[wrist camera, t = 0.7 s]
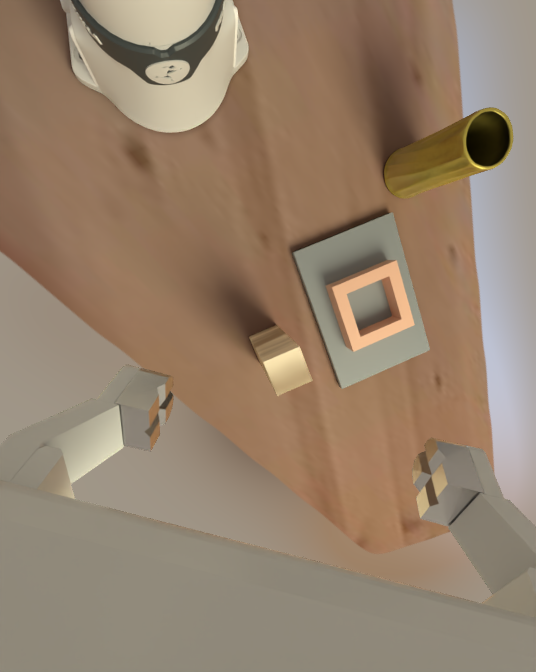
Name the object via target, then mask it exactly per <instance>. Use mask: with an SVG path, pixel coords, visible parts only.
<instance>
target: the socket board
mask: <svg viewBox="0 0 536 672" xmlns="http://www.w3.org/2000/svg"><path fill="white" fill-rule="evenodd" d="M292 255H293V258H294V261H295V263H296V266H297V269H298V272H299V275H300V277H301V280H302V283H303V286H304V289H305V291H306V294H307V297H308V300H309V303H310V305H311V308H312V311H313V314H314V317H315V319H316V322H317V325H318V328H319V331H320V333H321V336H322V339H323V342H324V345H325V347H326V350H327V353H328V356H329V359H330V361H331V364H332V367H333V370H334V373H335V375H336V378H337V381H338V384H339V387H341V388H342V389H343V388H345V387H348V386H350V385H352V384H354V383H357V382H359V381H361V380H363V379H366V378H368V377H370V376H372V375H375V374H377V373H379V372H381V371H384V370H386V369H388V368H390V367H393V366H395V365H397V364H399V363H402V362H404V361H406V360H408V359H411V358H413V357H415V356H417V355H419V354H422V353H424V352H426V351H428V350H430V348H429V344H428V340H427V337H426V333H425V329H424V326H423V322H422V318H421V315H420V311H419V307H418V304H417V300H416V296H415V293H414V289H413V285H412V282H411V278H410V274H409V270H408V267H407V263H406V259H405V256H404V252H403V248H402V245H401V241H400V237H399V234H398V230H397V226H396V223H395V219H394V215H393V212H392V213H388V214H386V215H383V216H381V217H378V218H376V219H373V220H371V221H368V222H366V223H364V224H361V225H359V226H356V227H354V228H351V229H349V230H346V231H344V232H341V233H339V234H337V235H334V236H332V237H329V238H327V239H324V240H322V241H319V242H317V243H314V244H312V245H310V246H307V247H305V248H302V249H300V250H297V251H295V252H292Z"/></svg>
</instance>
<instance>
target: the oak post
mask: <svg viewBox="0 0 536 672" xmlns="http://www.w3.org/2000/svg"><path fill="white" fill-rule="evenodd" d="M249 338H250V341H251V343H252V345H253V348H254V350H255V353H256V355H257V357H258V360H259V362H260V364H261V366H262V368H263V370H264V372H265V374H266V376H267V378H268V379H269V381H270V383H271V385H272V387H273V389H274V391H275V393H276V395H277V396H279V395H281V394H283V393H285V392H288V391H290V390H292V389H295V388H297V387H299V386H301V385H304V384H306V383H308V382H310V381H312V378H311V376H310V373H309V370H308V368H307V365H306V362H305V360H304V357H303V354H302V352H301V349H300V346H298V345H297V344H296V343H295V342H294V341H293V340H292V339H291V338H290V337H289V336H288V335H287V334H286V333H285V332H284V331H282V330H281V329H280V328H279V327H278V326H277V325H275V326H273V327H271V328H268V329H266V330H263V331H261V332H259V333H256V334H254V335H252V336H249Z"/></svg>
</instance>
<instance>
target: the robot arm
mask: <svg viewBox="0 0 536 672" xmlns="http://www.w3.org/2000/svg"><path fill="white" fill-rule="evenodd" d="M60 2H61V5H62V8H63V10H64V12H66V16H67V26H68V35H69V45H70V54H71V64H72V69H73V72H74V74H75V76H76V78H77V79H78V80H79V81H80V82H81V83H83V84H84V85H86V86H87V87H89V88H91V89H93V90H95V91H98V92H100V93H102V94H104V95H105V96H106V97H107V98H108V99H109V100H110V101H111V102H112V103H113V104H114V105H115V106H116V107H117V108H118V109H119V110H120V111H121V112H122V113H123V114H125V115H126V116H127V117H128V118H130V119H131V120H133V121H134V122H136V123H138V124H140V125H141V126H144V127H146V128H149V129H152V130H155V131H160V132H182V131H186V130H189V129H192V128H195V127H197V126H199V125H200V124H202V123H203V122H205V121H206V120H207V119H209V118H210V117H211V116H212V115H213V114H214V112H215V111H216V110H217V109H218V107H219V106H220V104H221V102H222V100H223V98H224V96H225V94H226V91H227V88H228V85H229V82H230V80H231V78H232V76H233V75H234V74H235V73H236V72H237V71H238V70H239V68H240V67H241V66H242V65H243V64H244V63H245V61H246V59H247V57H248V42H247V40H246V37H245V34H244V31H243V28H242V25H241V23H240V20H239V17H238V11H237V8H236V7H235V6H234V3H233V0H60ZM81 57H82V59H83V60H81ZM173 385H174V384H173V377H172V376H170V375H166V374H163V373H159V372H155V371H151V370H147V369H144V368H139V367H135V366H131V365H125V366H123V367H122V368H121V369H120V371H119V372H118V373H117V374H116V376H115V377H114V378H113V379H112V381H111V382H110V383H109V384H108V386H107V387H106V388H105V390H104V391H103V392H102V393H101V395H100V396H99V397H98V399H90V400H87V401H85V402H83V403H81V404H78V405H76V406H74V407H72V408H70V409H67V410H65V411H63V412H60V413H58V414H56V415H54V416H51V417H49V418H47V419H45V420H43V421H40V422H38V423H36V424H33V425H31V426H29V427H27V428H25V429H22V430H20V431H18V432H16V433H13V434H11V435H9V436H8V437H7V438H6V440H5V441H4V442H3V443H2V444H1V445H0V672H536V526H535V525H533V524H532V522H531V521H530V520H529V519H528V518H527V517H526V516H525V515H524V514H523V513H522V512H521V511H520V510H519V509H518V508H517V507H516V506H515V505H514V504H513V503H512V502H511V501H510V500H507V499H504V497H503V494H502V492H501V490H500V487H499V485H498V482H497V480H496V477H495V475H494V472H493V470H492V467H491V465H490V463H489V460H488V458H487V455H486V453H485V452H484V451H483V450H482V449H479V448H475V447H470V446H466V445H462V444H457V443H453V442H449V441H444V440H440V439H435V438H430V439H428V440H427V442H426V443H425V445H424V446H425V451H424V452H422V453H420V454H418V456H417V457H416V459H415V461H414V464H413V469H412V477H413V483H414V485H415V486H416V488H417V489H418V490H419V492H420V493H419V494H418V496H417V497H416V500H417V505H418V510H419V515H420V519H423V520H427V521H431V522H434V523H438V524H441V525H445V526H449V530H450V531H451V533H452V534H453V536H454V537H455V539H456V540H457V542H458V543H459V545H460V546H461V548H462V549H463V551H464V552H465V553H466V555H467V557H468V558H469V560H470V561H471V563H472V564H473V566H474V567H475V569H476V570H477V572H478V573H479V575H480V576H481V578H482V579H483V580H484V582H485V584H486V585H487V587H488V588H489V590H490V591H491V593H492V594H493V595H492V596H491V597H489V598H488V599H486V600H485V601H484V602H482V603H478V602H474V601H470V600H466V599H462V598H458V597H455V596H451V595H447V594H443V593H439V592H435V591H431V590H427V589H423V588H420V587H416V586H412V585H408V584H404V583H400V582H396V581H392V580H388V579H385V578H380V577H377V576H373V575H369V574H365V573H361V572H357V571H353V570H349V569H346V568H342V567H338V566H334V565H330V564H326V563H322V562H318V561H314V560H310V559H307V558H303V557H298V556H295V555H291V554H287V553H283V552H279V551H275V550H271V549H267V548H264V547H260V546H256V545H252V544H248V543H244V542H240V541H236V540H232V539H228V538H224V537H220V536H217V535H213V534H209V533H204V532H201V531H197V530H193V529H189V528H186V527H181V526H178V525H174V524H170V523H166V522H162V521H158V520H154V519H151V518H146V517H143V516H139V515H135V514H131V513H127V512H123V511H119V510H115V509H111V508H107V507H103V506H100V505H96V504H92V503H88V502H84V501H80V500H77V499H75V497H74V493H73V489H72V486H71V484H72V483H73V482H74V481H76V480H77V479H79V478H80V477H82V476H83V475H84V474H86V473H87V472H89V471H90V470H92V469H93V468H94V467H96V466H97V465H99V464H100V463H102V462H103V461H105V460H106V459H108V458H109V457H110V456H112V455H113V454H115V453H116V452H118V451H119V450H120V449H122V448H123V447H124V446H127V447H132V448H137V449H141V450H146V451H151V450H152V448H153V446H154V444H155V443H156V441H157V439H158V437H159V435H160V426H162V425H164V424H165V423H166V422H167V420H168V418H169V415H170V412H171V409H172V405H173V394H172V393H171V391H170V390H171V389H172V387H173Z"/></svg>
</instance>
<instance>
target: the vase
mask: <svg viewBox="0 0 536 672" xmlns="http://www.w3.org/2000/svg"><path fill="white" fill-rule="evenodd" d="M512 143H513V130H512V125H511V122H510V120H509V118H508V116H507V115H506V114H505V113H504V112H502V111H501V110H499V109H497V108H485V109H482V110H479V111H476V112H474V113H473V114H471V115H469V116H467V117H465V118H463V119H461V120H460V121H458V122H456V123H454V124H452V125H450V126H448V127H446V128H444V129H442V130H440V131H438V132H436V133H434V134H432V135H429V136H427V137H425V138H423V139H421V140H419V141H416V142H414V143H412V144H410V145H408V146H406V147H404V148H401V149H398V150H397V151H395V152H394V153H393V154H392V155H391V156H390V157H389V159H388V160H387V162H386V165H385V169H384V178H385V183H386V186H387V188H388V190H389V191H390V192H391V193H392V194H393V195H395V196H397V197H399V198H410V197H413V196H415V195H417V194H419V193H422V192H425V191H428V190H430V189H433V188H436V187H439V186H442V185H445V184H448V183H451V182H454V181H457V180H460V179H463V178H465V177H468V176H471V175H474V174H477V173H481V172H484V171H487V170H491V169H493V168H495V167H497V166H498V165H500V164H501V163H502V162H503V161H504V160H505V159H506V157H507V156H508V154H509V152H510V150H511V147H512Z"/></svg>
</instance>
